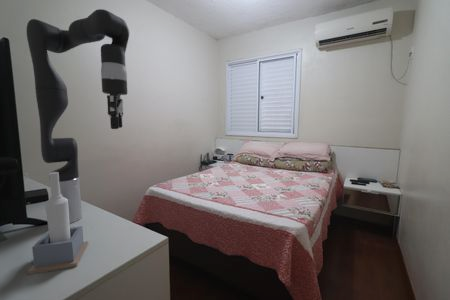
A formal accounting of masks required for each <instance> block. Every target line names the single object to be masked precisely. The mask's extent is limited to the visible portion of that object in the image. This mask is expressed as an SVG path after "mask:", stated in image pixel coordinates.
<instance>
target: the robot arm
mask: <svg viewBox="0 0 450 300" xmlns="http://www.w3.org/2000/svg"><path fill="white" fill-rule="evenodd" d="M25 31H26V38H27V39H26V40H27V44H28V49H29V52H30V54H29V55H30V57H31V62H32V68H33V69H32V70H33V76H34V85H35V86H34V88H35V97H36V103H37V104H36V105H37V110H38V116H39V129H40V130H39V131H40V148H41V149H40V151H41V157H42V160H43V162H44V163H46V164H53V163H55V164H56V163H64V162H67V163H65V164H64V165H63V166H62V167H59V168H57V169H55V170H53V171H51V172H50V173H52V172H59V185H60V194H61V195H62V197H64V198H66V199H68V208H69V223H70V224H71V223H75V222H77V221H79V220H80V219H82V218H83V210H82V199H81V190H80V189H81V187H80V174H79V173H80V172H79V160H78V158H79V150H78V143H77V141H76V139H75V138H73V137H59V138H58V137H57V138H56V137H55V138H53V137H52V134H53V130H54V128H55V126H56V125H57V122H58V121H59V120H60V118H61V117H62V115H63V114H64V113H65V111H66V110H67V108H68V106H69V97H68V88H67V86H66V83H65V82H64V80H63V78H62V77H61V76H60V74H59V72H58V71H57V70H56V68H54V66H53V64H52V62H51V60H50V57H49V54H48V51H49V52H51V53H54V54H63V53H65V52H68V51H71V50H72V49H75V48H77V47H79V46H82V45H83V44H84V45H85V44H89V43H96V42H100V41H102V40H104V39H105V38H106V37H107V38H110V39H111V43H104V44H102V45H101V46H100V62H101V68H100V75H101V76H100V78H101V92H102V93H103V94H105V95H107V96H106V98H107V101H106V102H107V115H108V116H109V118H110V119H109V120H110V129H112V130H118V129H119V128H120V129H121V128H123V116H124V106H123V105H124V102H123V98H121V96H127V94H128V76H127V68H126V52H127V51H126V50H127V48H128V42H129V38H130V28H129V25H128V23H127V21H126V20H125V19H123V18H121V17H119V16H117V14H114V13H113V12H110V11H108V10H106V9H102V8H100V9H96V10H94V11H92V13H91V14H89V15H88V16H87V17H85V18H80V19H76V20H74V21H73V22H71V23H70V24H69V27H68V30H66V29H61V28H58V27H57V26H55V25H52V24H50V23H47V22H46V21H42V20H39V19H36V18H31V19H29V21H28V22H27V24H26V30H25ZM48 177H49V180H50V176H49V175H48ZM49 188H50V189H51V183H50V182H49ZM51 196H52V193H51V192H50V197H51Z"/></svg>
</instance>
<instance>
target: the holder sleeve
mask: <svg viewBox="0 0 450 300" xmlns="http://www.w3.org/2000/svg"><path fill="white" fill-rule="evenodd" d="M70 238H71V239H70V240H69V241H62V242H55V243H50V236H49V229H47V231H46V232H45V233H44V234H43V235H42V236H41V237H40V238H39V240H37V242H36V243H35V244H34V245H33V246H32V247H31V249H32V256H33V257H32V258H33V264H32V265H31V267H30V268H29V269H28V271H27V273H28V275H33V274H39V273H45V272H51V271H57V270H62V269H68V268H69V269H70V268H73V267H78V264H79V263H80V261H81V259H82V257H83V255H84V253H85V252H86V250H87V247H88V245H89V241H85V240H84V231H83V226H75V227H74V226H73V227H70Z"/></svg>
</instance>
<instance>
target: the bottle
mask: <svg viewBox="0 0 450 300" xmlns="http://www.w3.org/2000/svg"><path fill="white" fill-rule="evenodd" d="M51 172H52V171H51ZM51 172H49V173H48V174H49V175H48V177H49V176H50V179H49V184H50V183H51V188H50V194H51V193H52V196H51V195H50V197H49V199H48V200H47V201H46V202H45V203H44V207H45V212H46V221H47V227H48V229H47V230H49V236H50V243H55V242H62V241H69V240H70V239H71V238H70V228H71V226H70V224H71V223H69V208H68V199H66V198H64V197H62V195H61V194H60V185H59V172H52V173H51Z"/></svg>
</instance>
